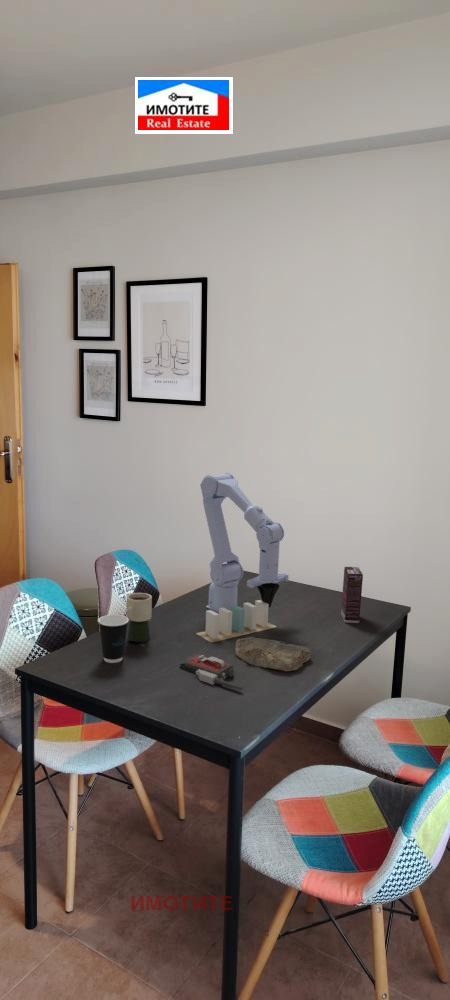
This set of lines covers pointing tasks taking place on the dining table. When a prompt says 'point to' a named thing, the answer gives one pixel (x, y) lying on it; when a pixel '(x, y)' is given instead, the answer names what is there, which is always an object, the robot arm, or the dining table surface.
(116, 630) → the dixie cup
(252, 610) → the domino
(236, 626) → the teal domino
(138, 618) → the character mug
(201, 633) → the oak board
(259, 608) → the domino
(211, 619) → the domino
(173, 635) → the dining table surface
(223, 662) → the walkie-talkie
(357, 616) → the supplement box
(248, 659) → the rough brown rock
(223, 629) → the domino
